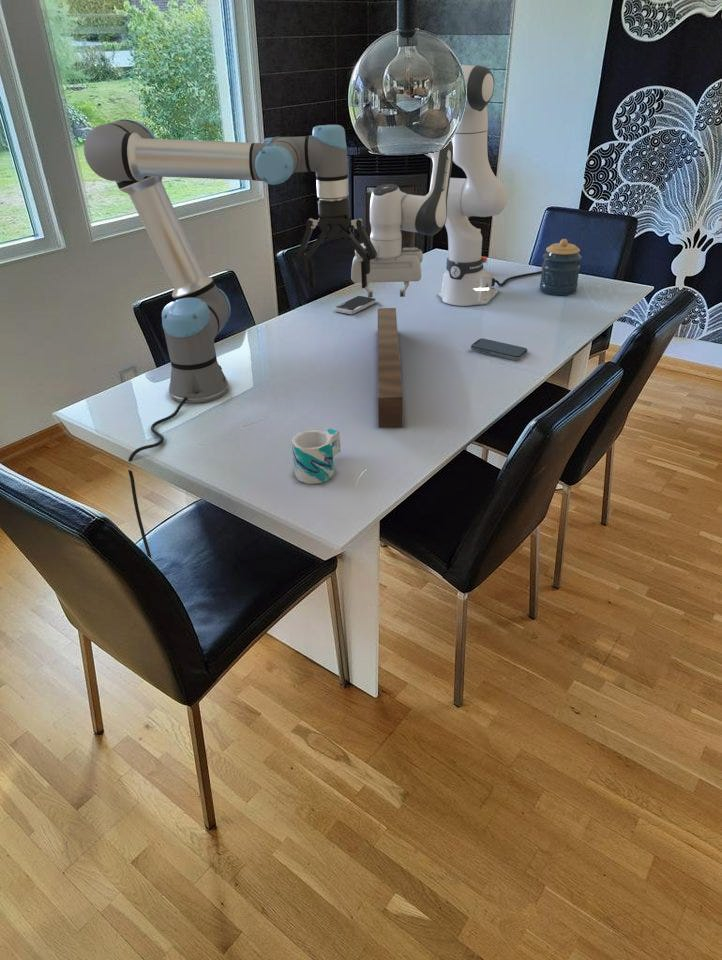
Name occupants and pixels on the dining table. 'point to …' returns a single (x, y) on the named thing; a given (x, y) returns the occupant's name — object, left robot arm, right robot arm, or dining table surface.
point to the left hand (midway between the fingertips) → (338, 286)
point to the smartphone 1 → (355, 305)
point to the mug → (315, 455)
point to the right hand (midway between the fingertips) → (386, 296)
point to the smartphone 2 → (499, 349)
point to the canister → (560, 269)
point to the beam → (389, 370)
